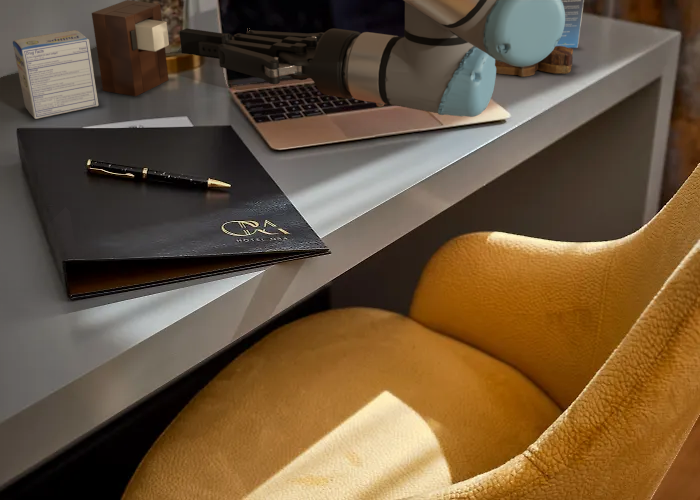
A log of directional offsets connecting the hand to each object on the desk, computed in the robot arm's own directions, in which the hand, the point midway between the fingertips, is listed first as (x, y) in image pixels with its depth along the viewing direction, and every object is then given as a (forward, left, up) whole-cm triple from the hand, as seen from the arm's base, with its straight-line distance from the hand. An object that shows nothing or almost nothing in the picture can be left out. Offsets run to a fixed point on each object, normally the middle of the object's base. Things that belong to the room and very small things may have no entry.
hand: (184, 40), depth 112 cm
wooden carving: (+48, -1, -6) cm, 49 cm away
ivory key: (-4, +4, -1) cm, 5 cm away
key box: (-6, +6, -7) cm, 10 cm away
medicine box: (-16, +1, -7) cm, 17 cm away
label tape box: (+52, +1, -7) cm, 52 cm away
